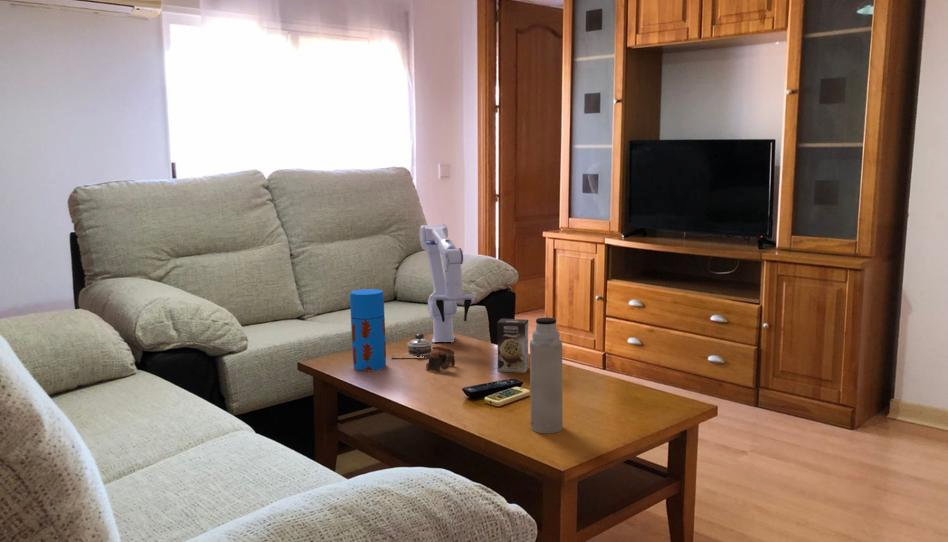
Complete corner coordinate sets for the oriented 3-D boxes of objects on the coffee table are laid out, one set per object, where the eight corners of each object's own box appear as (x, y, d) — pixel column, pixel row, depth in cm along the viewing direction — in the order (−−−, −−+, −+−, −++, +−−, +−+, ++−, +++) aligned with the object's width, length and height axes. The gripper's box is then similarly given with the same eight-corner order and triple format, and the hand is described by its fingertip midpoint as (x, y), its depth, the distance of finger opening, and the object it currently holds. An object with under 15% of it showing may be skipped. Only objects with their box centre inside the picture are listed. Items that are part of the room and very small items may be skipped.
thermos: (383, 371, 252) (380, 294, 248) (350, 371, 252) (347, 295, 248) (388, 362, 262) (385, 288, 259) (356, 362, 263) (353, 289, 259)
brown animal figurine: (418, 369, 254) (425, 345, 257) (443, 378, 259) (449, 354, 261) (437, 368, 244) (443, 343, 247) (462, 377, 249) (468, 352, 251)
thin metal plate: (396, 349, 279) (396, 339, 279) (446, 348, 279) (446, 338, 278) (391, 358, 266) (391, 348, 266) (444, 358, 266) (444, 347, 265)
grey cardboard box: (497, 371, 248) (496, 322, 246) (501, 366, 254) (500, 317, 252) (525, 373, 246) (525, 322, 243) (529, 367, 252) (528, 318, 250)
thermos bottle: (529, 423, 200) (527, 315, 196) (560, 422, 200) (559, 315, 196) (532, 434, 192) (531, 322, 188) (564, 433, 193) (564, 321, 188)
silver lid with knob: (411, 340, 275) (411, 332, 275) (429, 340, 275) (429, 332, 275) (409, 345, 269) (409, 336, 269) (427, 344, 269) (427, 336, 268)
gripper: (431, 285, 270) (432, 323, 272) (473, 284, 269) (474, 322, 271) (433, 282, 277) (434, 319, 279) (474, 281, 276) (475, 318, 278)
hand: (454, 321), depth 275 cm, fingers open, 7 cm apart
